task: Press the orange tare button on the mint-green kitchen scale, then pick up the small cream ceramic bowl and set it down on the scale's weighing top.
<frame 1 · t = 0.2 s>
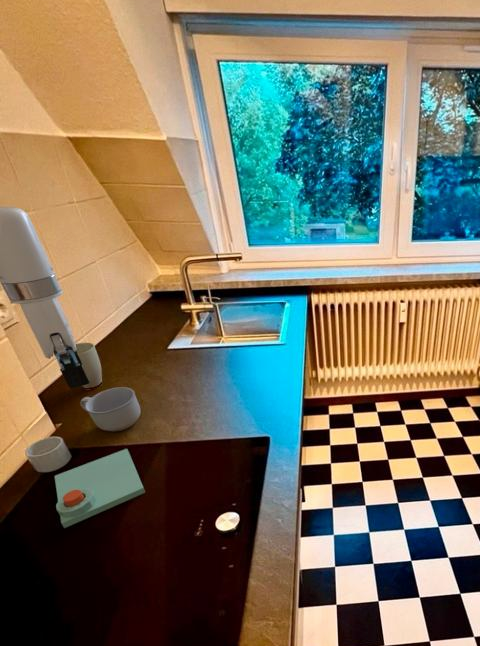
hand: (76, 376, 75), 22 cm above the counter, tool pointing down, fingers open, 9 cm apart
bowl: (54, 463, 87), on the counter
mug: (93, 387, 116), on the counter
tare button: (73, 498, 73), point 3 cm above the counter, slide at 0.1 cm
teacup: (117, 424, 99), on the counter
scale: (100, 486, 80), on the counter
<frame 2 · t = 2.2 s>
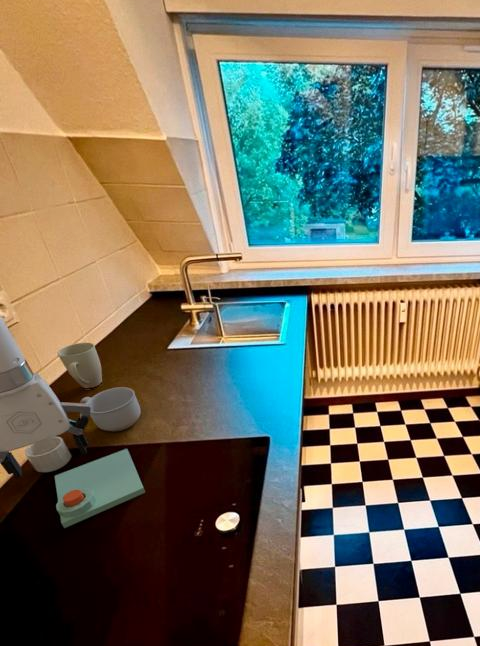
hand: (52, 461, 68), 12 cm above the counter, tool pointing down, fingers open, 9 cm apart
nothing on the counter moved.
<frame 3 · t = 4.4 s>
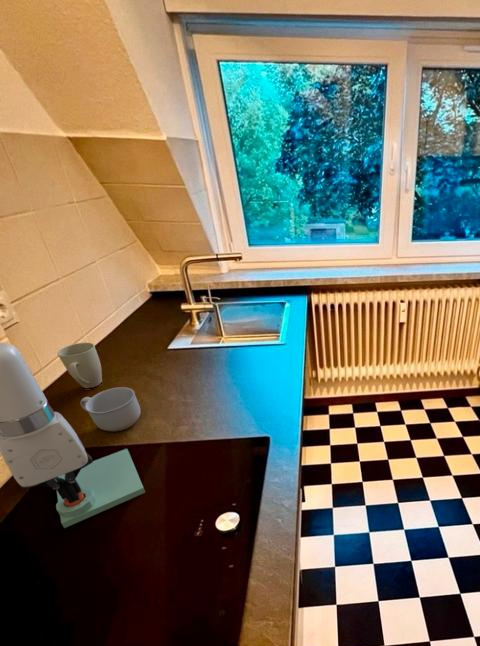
hand: (74, 497, 73), 4 cm above the counter, tool pointing down, fingers closed
tare button: (74, 500, 73), point 3 cm above the counter, slide at -0.4 cm, touching gripper
everything else where it was.
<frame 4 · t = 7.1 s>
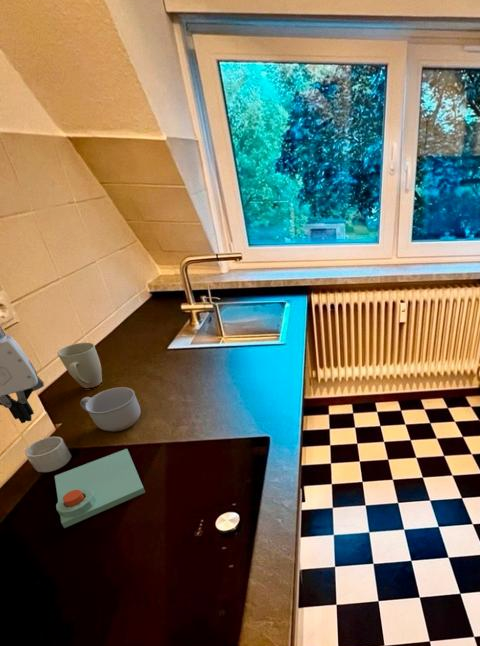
hand: (26, 418, 79), 13 cm above the counter, tool pointing down, fingers closed
tare button: (73, 498, 73), point 3 cm above the counter, slide at 0.1 cm
everything else where it was.
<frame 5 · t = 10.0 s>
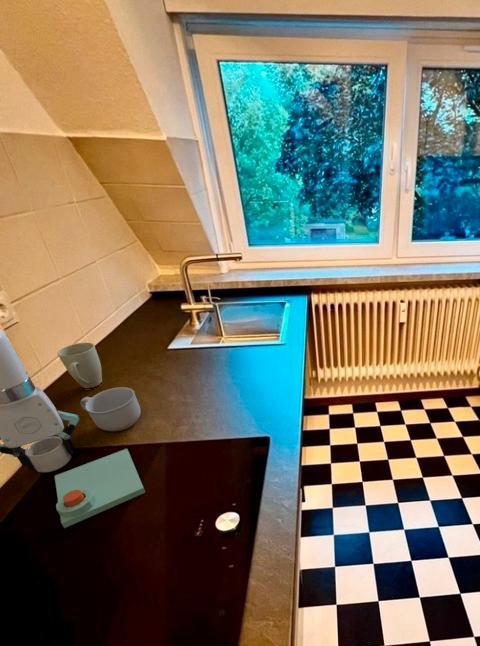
hand: (51, 458, 86), 2 cm above the counter, tool pointing down, fingers closed on bowl, 6 cm apart
bowl: (54, 463, 87), on the counter, touching gripper
everything else where it was.
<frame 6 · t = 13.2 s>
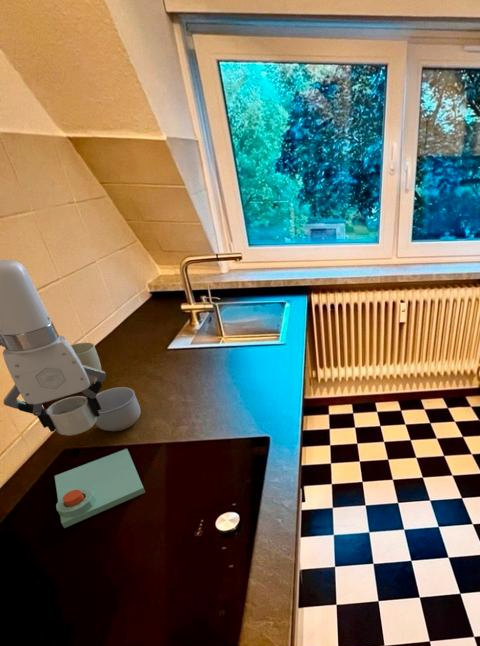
hand: (75, 420, 76), 14 cm above the counter, tool pointing down, fingers closed on bowl, 6 cm apart
bowl: (78, 426, 77), point 13 cm above the counter, touching gripper
everything else where it was.
when the fingers open (3 cm above the counter, at t = 16.4 s): bowl stays where it is, resting on scale.
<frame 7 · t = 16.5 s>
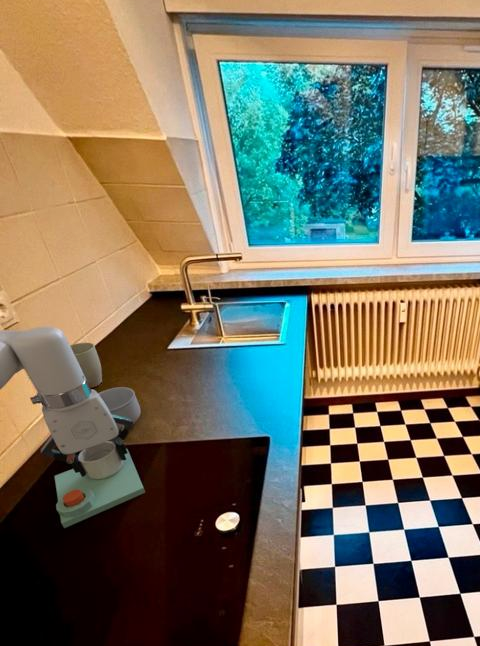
hand: (103, 464, 82), 3 cm above the counter, tool pointing down, fingers open, 7 cm apart
bowl: (106, 469, 82), point 1 cm above the counter, touching scale
everything else where it was.
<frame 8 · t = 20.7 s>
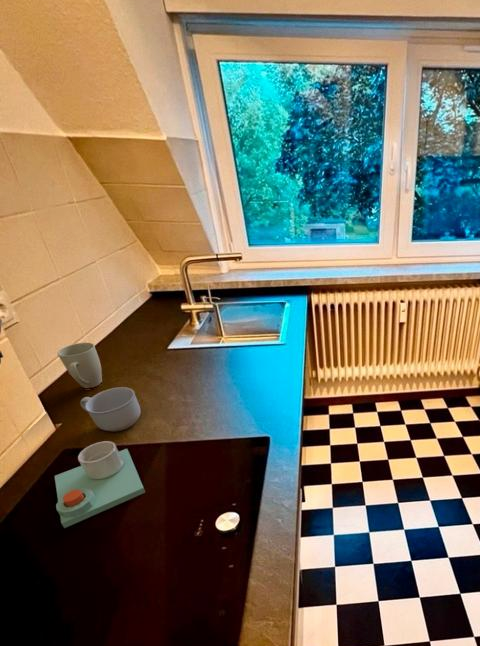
nothing on the counter moved.
at the end: tare button pushed in 0.7 cm at the most during the clip, back to where it started at the end; bowl inside the target area on the scale (3.6 cm from its centre), point 1.4 cm above the scale's base; bowl touching scale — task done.
